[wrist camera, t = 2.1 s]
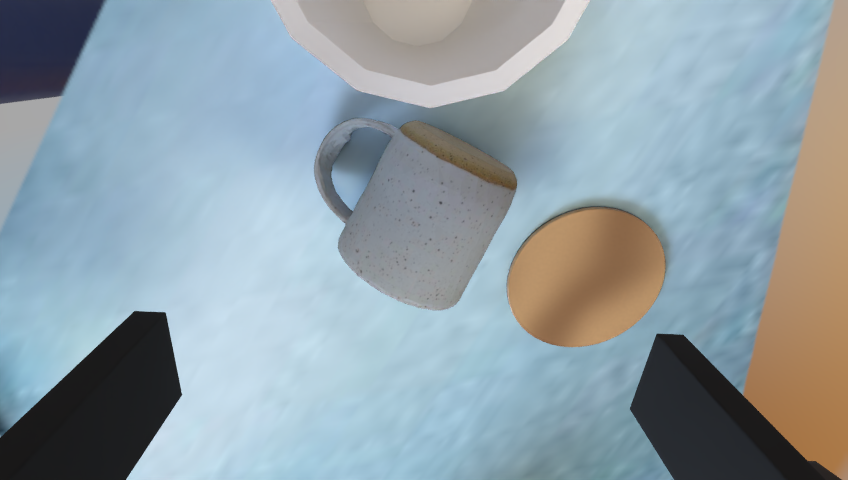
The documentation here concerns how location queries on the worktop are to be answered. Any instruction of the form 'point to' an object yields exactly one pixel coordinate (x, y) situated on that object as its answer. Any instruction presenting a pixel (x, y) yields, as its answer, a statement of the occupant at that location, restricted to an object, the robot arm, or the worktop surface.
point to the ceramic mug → (418, 211)
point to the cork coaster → (585, 276)
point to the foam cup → (430, 43)
